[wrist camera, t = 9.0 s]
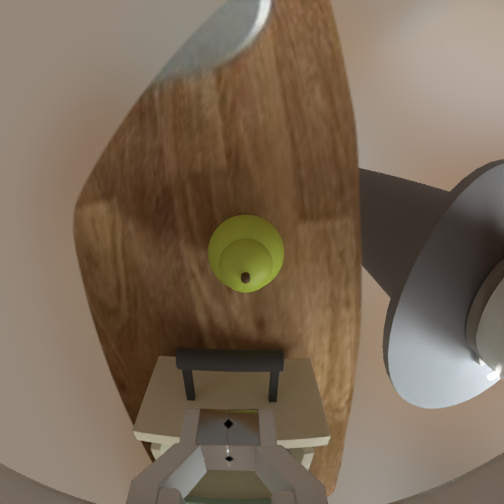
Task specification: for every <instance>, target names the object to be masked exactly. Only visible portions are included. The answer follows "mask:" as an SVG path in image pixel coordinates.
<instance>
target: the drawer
mask: <svg viewBox="0 0 504 504" xmlns="http://www.w3.org/2000/svg"><path fill="white" fill-rule="evenodd" d="M186 408H203V409H221V410H229V409H273V411H274V420H275V429H276V438H277V445H282V446H283V447H284V448H285V449H286V450H287V451H288V452H289V453H290V454H291V455H292V456H293V457H294V458H295V459H296V460H297V461H298V462H300V463H301V464H302V465H303V466H304V467H305V468H306V469H307V470H308V469H309V467H310V464H311V461H312V458H313V455H314V449H313V446H322V445H328V442H329V439H330V437H331V435H330V431H329V427H328V423H327V419H326V415H325V412H324V408H323V404H322V400H321V396H320V392H319V389H318V385H317V381H316V377H315V374H314V370H313V366H312V363H311V359H310V358H301V359H284V351H283V350H228V349H198V348H178V349H177V352H176V357H171V356H159V357H158V360H157V363H156V365H155V368H154V371H153V373H152V376H151V379H150V382H149V384H148V387H147V390H146V393H145V396H144V399H143V401H142V404H141V407H140V410H139V413H138V416H137V419H136V422H135V425H134V428H133V433H134V435H135V438H136V439H137V440H140V441H147V442H152V444H151V448H150V449H151V451H152V454H153V456H154V458H155V460H157V459H158V458H159V457H160V456H161V455H162V454H163V453H165V452H166V451H167V450H168V449H169V448H170V447H171V446H172V445H173V444H175V443H179V441H180V436H181V430H182V425H183V419H184V414H185V410H186ZM206 471H207V472H206V473H205V474H204V476H203V477H202V478H201V479H200V480H199V482H198V483H197V484H196V485H195V486H194V488H193V489H192V490H191V491H190V492H189V493H188V495H187V496H195V497H207V498H223V499H271V498H272V493H271V492H270V491H269V489H268V488H267V487H266V486H265V484H264V483H263V482H262V481H261V479H260V478H259V477H258V475H257V474H256V473H255V471H214V470H206Z"/></svg>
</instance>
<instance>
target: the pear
mask: <svg viewBox="0 0 504 504" xmlns="http://www.w3.org/2000/svg"><path fill="white" fill-rule="evenodd" d="M283 259H284V247H283V242H282V239H281V237H280V235H279V233H278V231H277V230H276V229H275V227H274V226H273V225H272V224H270V223H269V222H268V221H266V220H265V219H263V218H261V217H258V216H254V215H238V216H234V217H231V218H229V219H227V220H226V221H224V222H223V223H221V224H220V225H219V226H218V227H217V228H216V230H215V231H214V233H213V234H212V236H211V238H210V242H209V246H208V260H209V264H210V267H211V269H212V271H213V273H214V274H215V275H216V277H217V278H218V279H219V280H220V281H221V282H222V283H223V284H225V285H227V286H228V287H230V288H232V289H233V290H236V291H239V292H245V293H246V292H253V291H256V290H258V289H260V288H262V287H264V286H265V285H267V284H268V283H270V282H271V281H272V280H273V279H274V278H275V277H276V275H277V274H278V272H279V271H280V269H281V266H282V263H283Z"/></svg>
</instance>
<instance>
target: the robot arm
mask: <svg viewBox="0 0 504 504" xmlns="http://www.w3.org/2000/svg"><path fill="white" fill-rule="evenodd" d="M465 335H466V341H467V344H468V346H469V347H470V348H471V349H472V350H473V351H474V352H475V360H476V362H477V363H478V364H479V365H480V366H483V365H485V364H487V365H488V366H489V367H490V368H491V369H492V370H493V371H494V372H493V373H491V374H489V375H488V376H487V377H488V379H489V380H492V379H494V378H496V377H498V376H499V377H500V378H502V379H503V380H504V258H503V259H502V260H501V261H500V262H499V263H498V264H497V265H496V266H495V267H494V268H493V269H492V271H491V272H490V273H489V275H488V276H487V277H486V279H485V280H484V282H483V283H482V285H481V287H480V289H479V290H478V292H477V294H476V296H475V298H474V301H473V303H472V305H471V308H470V311H469V314H468V318H467V322H466V330H465ZM206 470H214V471H255V473H256V474H257V475H258V477H259V478H260V479H261V481H262V482H263V483H264V484H265V486H266V487H267V488H268V489H269V491H270V492H271V493H272V498H271V504H328V501H327V496H326V491H325V487H324V485H323V484H322V483H321V482H320V481H319V480H318V479H317V478H316V477H314V476H313V475H312V474H311V473H310V472H309V471H308V470H307V469H306V468H305V467H304V466H303V465H302V464H301V463H300V462H298V461H297V460H296V459H295V458H294V457H293V456H292V455H291V454H290V453H289V452H288V451H287V450H286V449H285V448H284V447H283V446H282V445H277V438H276V429H275V420H274V411H273V409H229V410H221V409H203V408H186V410H185V414H184V419H183V425H182V430H181V436H180V441H179V443H175V444H173V445H172V446H171V447H170V448H169V449H168V450H167V451H166V452H165V453H163V454H162V455H161V456H160V457H159V458H158V459H157V460H155V461H154V462H153V463H152V464H151V465H150V466H149V467H147V468H146V469H145V470H144V471H143V472H141V473H140V474H139V475H138V476H137V477H136V478H134V479H133V480H132V482H131V486H130V490H129V493H128V498H127V501H126V504H186V502H185V500H184V498H185V497H186V496H187V495H188V493H189V492H190V491H191V490H192V489H193V488H194V486H195V485H196V484H197V483H198V482H199V480H200V479H201V478H202V477H203V476H204V474H205V473H206V472H207V471H206ZM0 504H96V503H92V502H89V501H86V500H83V499H80V498H77V497H74V496H71V495H68V494H66V493H63V492H60V491H58V490H56V489H53V488H51V487H48V486H46V485H44V484H41V483H39V482H37V481H35V480H33V479H30V478H28V477H26V476H24V475H22V474H20V473H18V472H16V471H14V470H12V469H10V468H9V467H7V466H5V465H3V464H1V463H0ZM389 504H504V452H503V453H501V454H500V455H498V456H496V457H495V458H493V459H491V460H490V461H488V462H486V463H484V464H483V465H481V466H479V467H477V468H475V469H473V470H471V471H469V472H467V473H465V474H463V475H461V476H459V477H457V478H455V479H453V480H450V481H448V482H446V483H444V484H441V485H439V486H437V487H434V488H432V489H429V490H427V491H424V492H421V493H419V494H416V495H413V496H411V497H408V498H405V499H402V500H399V501H395V502H392V503H389Z"/></svg>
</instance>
